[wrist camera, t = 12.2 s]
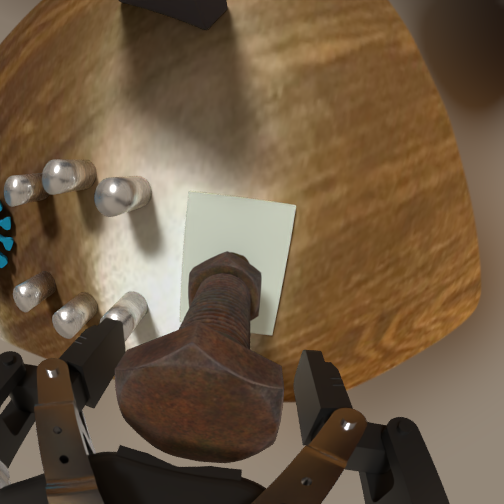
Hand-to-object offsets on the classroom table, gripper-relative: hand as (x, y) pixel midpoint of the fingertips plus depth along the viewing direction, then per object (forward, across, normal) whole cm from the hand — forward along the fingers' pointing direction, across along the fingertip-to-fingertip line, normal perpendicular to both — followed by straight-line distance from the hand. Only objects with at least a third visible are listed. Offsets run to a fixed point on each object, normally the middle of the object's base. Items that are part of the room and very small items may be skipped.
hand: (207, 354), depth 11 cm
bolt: (+11, 0, 0) cm, 11 cm away
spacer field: (+12, +14, 0) cm, 18 cm away
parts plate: (+11, 0, 0) cm, 11 cm away
